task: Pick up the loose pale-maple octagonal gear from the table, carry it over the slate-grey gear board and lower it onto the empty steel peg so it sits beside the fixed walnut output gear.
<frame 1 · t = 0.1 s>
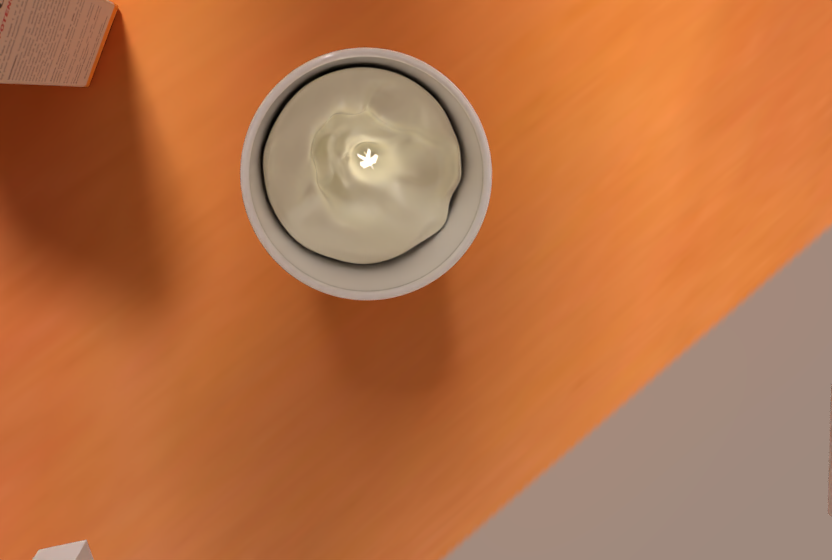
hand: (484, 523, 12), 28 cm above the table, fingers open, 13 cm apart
candle holder: (357, 153, 37), on the table
supplement box 2: (26, 7, 33), on the table
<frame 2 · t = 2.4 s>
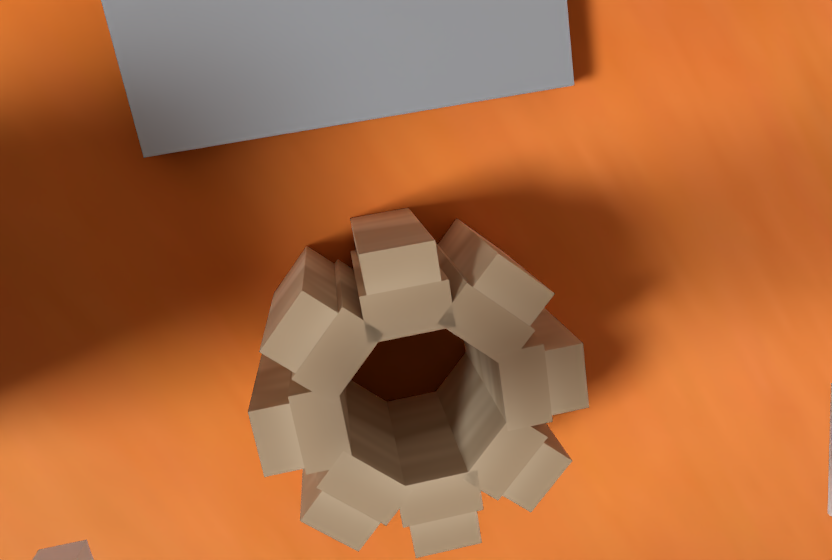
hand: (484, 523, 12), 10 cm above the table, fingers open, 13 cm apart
maple gear: (401, 340, 21), on the table
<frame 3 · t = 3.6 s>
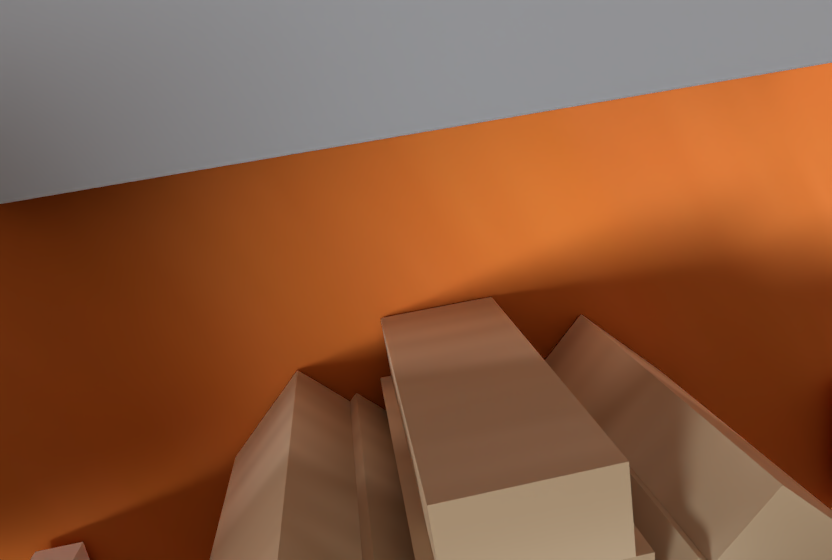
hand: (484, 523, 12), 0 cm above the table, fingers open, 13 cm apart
maple gear: (471, 529, 12), on the table
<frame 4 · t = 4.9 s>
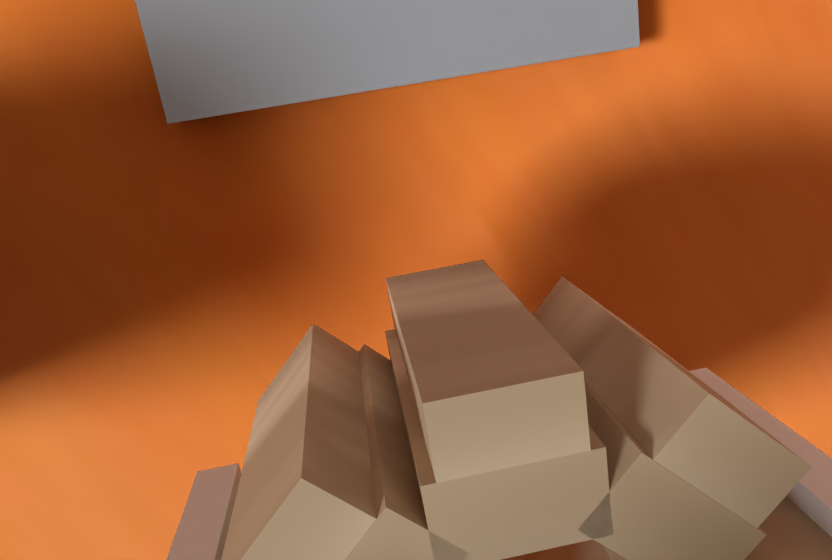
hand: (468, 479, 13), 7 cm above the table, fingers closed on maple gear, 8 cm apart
maple gear: (465, 469, 13), point 7 cm above the table, touching gripper
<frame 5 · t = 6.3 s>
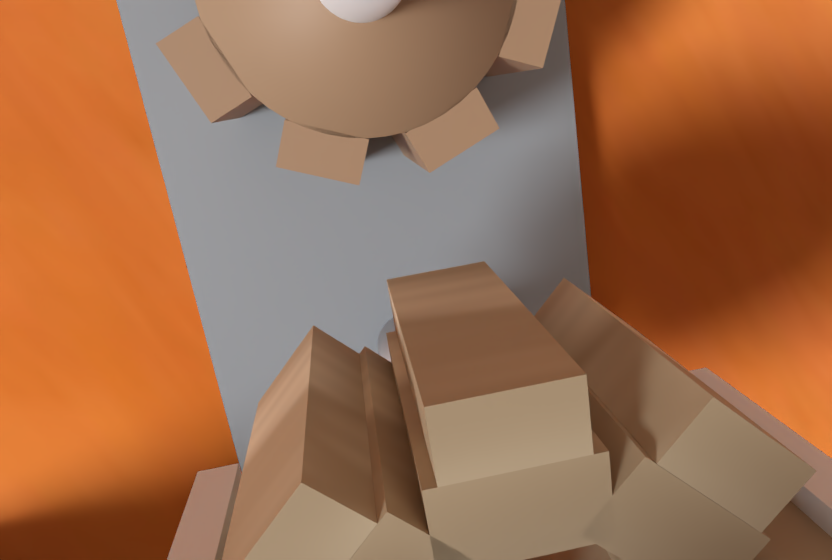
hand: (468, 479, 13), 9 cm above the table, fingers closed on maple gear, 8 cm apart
maple gear: (466, 471, 13), point 9 cm above the table, touching gripper
gear board: (381, 197, 21), on the table
when the fingers open (3 cm above the table, at t = 8.0 s): maple gear drops 1 cm, resting on gear board.
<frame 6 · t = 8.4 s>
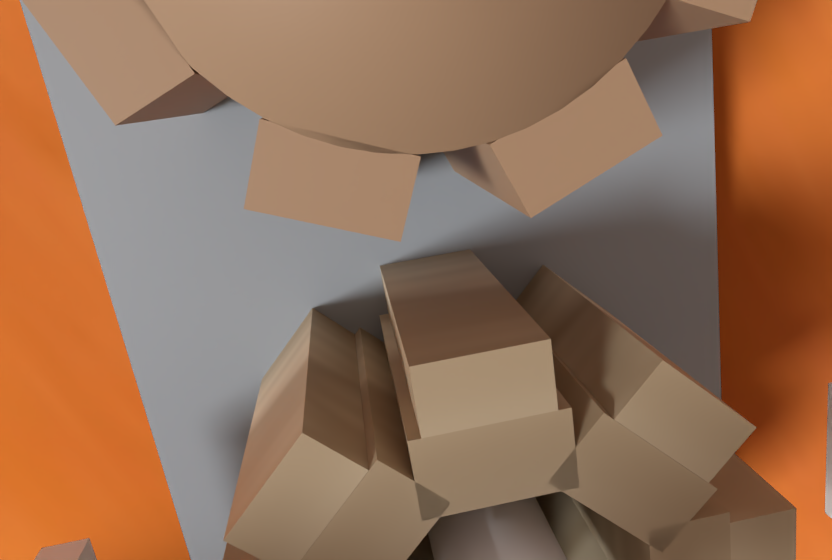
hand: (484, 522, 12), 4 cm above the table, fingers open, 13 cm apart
maple gear: (454, 445, 14), point 1 cm above the table, touching gear board
gear board: (416, 230, 14), on the table
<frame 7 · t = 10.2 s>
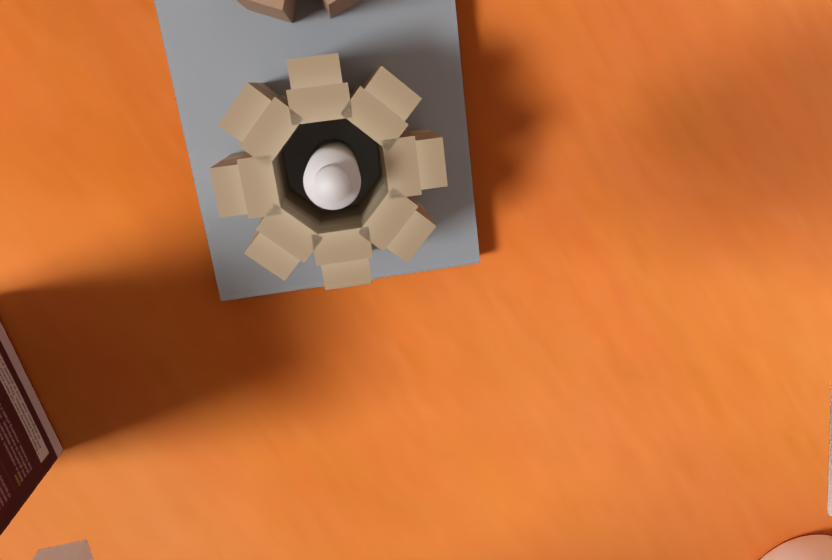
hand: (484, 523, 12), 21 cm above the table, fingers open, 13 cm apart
maple gear: (332, 162, 29), point 1 cm above the table, touching gear board
gear board: (317, 54, 29), on the table
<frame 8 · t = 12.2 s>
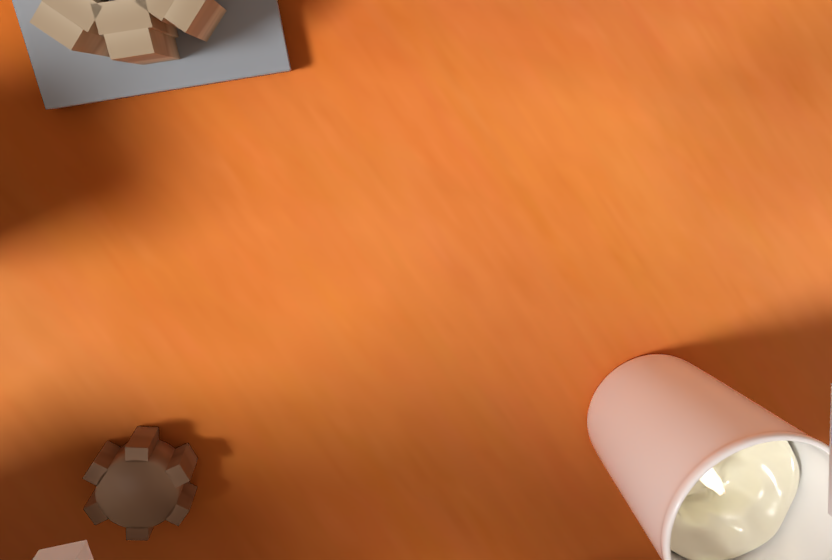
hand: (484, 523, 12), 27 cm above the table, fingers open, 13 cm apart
candle holder: (646, 411, 43), on the table
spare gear: (148, 471, 39), on the table
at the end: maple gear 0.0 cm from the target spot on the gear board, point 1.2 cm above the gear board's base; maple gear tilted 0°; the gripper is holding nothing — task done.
